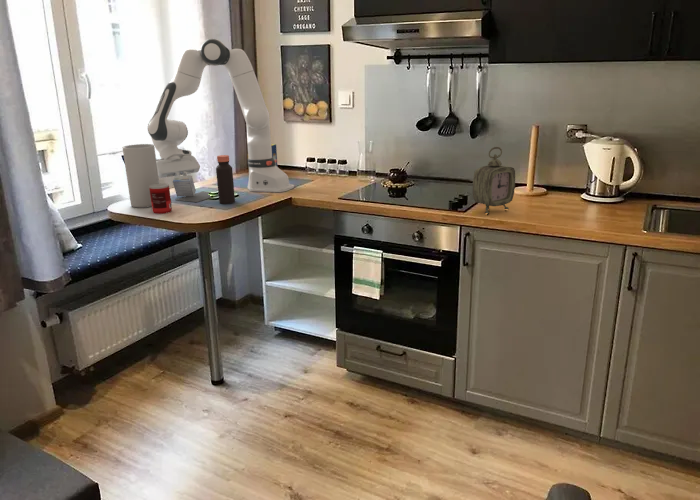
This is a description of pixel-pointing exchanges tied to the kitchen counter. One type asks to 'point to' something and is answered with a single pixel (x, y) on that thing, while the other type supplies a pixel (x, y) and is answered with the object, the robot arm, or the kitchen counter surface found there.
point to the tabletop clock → (494, 183)
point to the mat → (196, 197)
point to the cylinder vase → (140, 173)
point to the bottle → (225, 180)
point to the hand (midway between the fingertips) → (184, 181)
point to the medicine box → (184, 186)
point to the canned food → (160, 198)
